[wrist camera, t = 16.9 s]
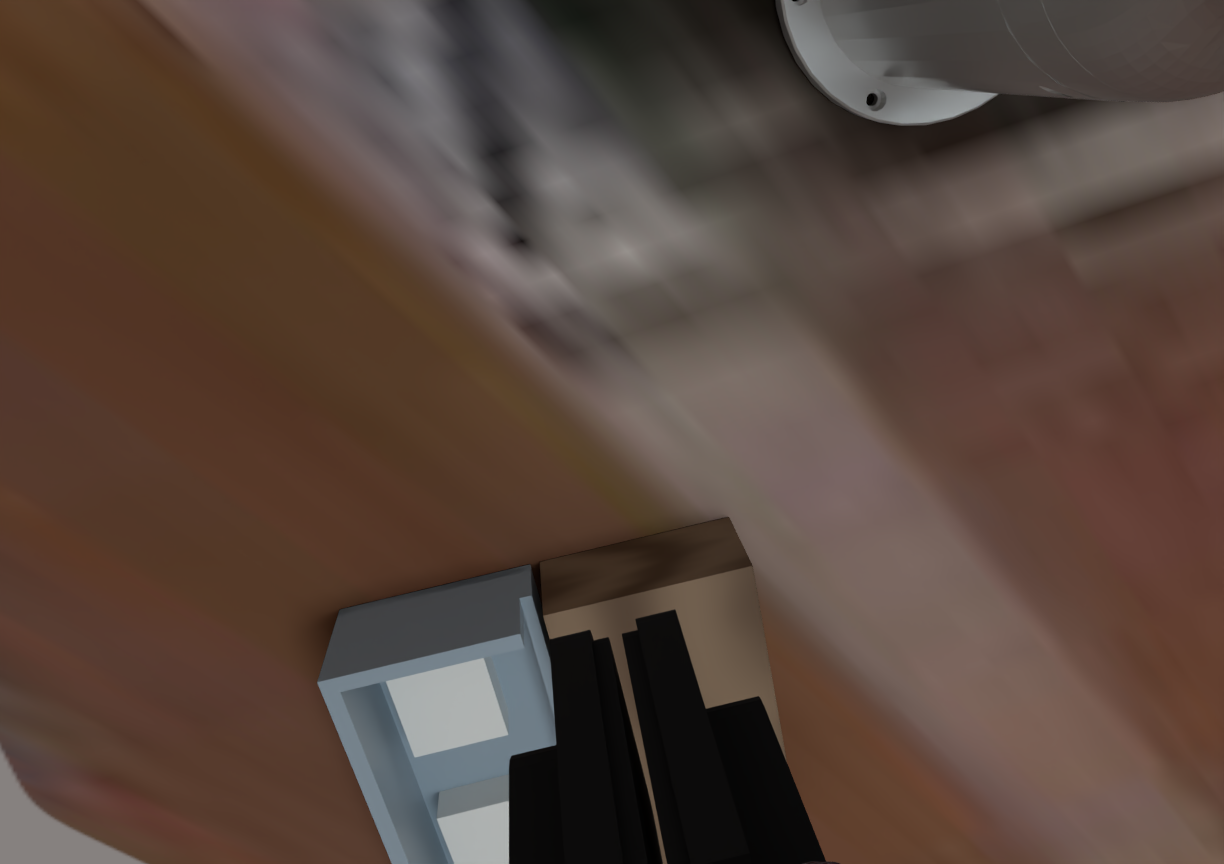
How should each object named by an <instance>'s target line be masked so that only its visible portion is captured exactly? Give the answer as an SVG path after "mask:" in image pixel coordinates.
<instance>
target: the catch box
mask: <svg viewBox="0 0 1224 864" xmlns="http://www.w3.org/2000/svg"><path fill="white" fill-rule="evenodd" d="M549 641H550V638H549V635H548V631H547V628H546V624H545V621H544V617H543V608H542V604H541V600H540V597H539V593H538V590H537V586H536V583H535V579H534V576H533V572H532V569H531V565H530V564H529V565H525V566H521V567H517V568H512V569H508V570H504V571H500V572H496V573H491V574H487V575H483V576H479V577H475V578H470V579H466V580H462V581H458V582H454V583H449V584H445V585H441V586H437V587H433V588H428V589H424V590H420V591H416V592H412V593H407V594H403V595H399V596H395V597H390V598H386V599H382V600H378V601H374V602H369V603H365V604H361V605H357V606H353V607H348V608H344V609H340V610H339V613H338V617H337V620H336V623H335V626H334V629H333V633H332V636H331V639H330V642H329V646H328V649H327V652H326V655H325V659H324V662H323V665H322V668H321V672H320V675H319V678H318V681H317V683H318V685H319V688H320V690H321V693H322V695H323V698H324V700H325V702H326V705H327V707H328V710H329V712H330V715H331V717H332V719H333V722H334V724H335V727H336V729H337V732H338V734H339V736H340V739H341V741H342V744H343V746H344V749H345V751H346V753H347V756H348V758H349V761H350V763H351V766H352V768H353V770H354V773H355V775H356V778H357V780H358V783H359V785H360V787H361V790H362V792H363V795H364V797H365V800H366V802H367V804H368V807H369V809H370V812H371V814H372V817H373V819H374V821H375V824H376V826H377V829H378V831H379V834H380V836H381V838H382V841H383V843H384V846H385V848H386V851H387V853H388V855H389V858H390V860H391V863H392V864H454V862H453V859H452V857H451V854H450V852H449V849H448V847H447V844H446V842H445V839H444V836H443V834H442V831H441V829H440V826H439V824H438V821H437V810H438V799H439V792H440V791H444V790H448V789H452V788H456V787H460V786H464V785H468V784H472V783H476V782H480V781H484V780H488V779H492V778H496V777H500V776H504V775H508V774H509V760H510V758H511V756H512V755H516V754H520V753H525V752H529V751H533V750H537V749H541V748H545V747H549V746H554V745H556V732H555V717H554V703H553V689H552V674H551V660H550V646H549ZM489 656H491V657H492V660H493V663H494V666H495V669H496V673H497V676H498V679H499V682H500V685H501V688H502V691H503V694H504V698H505V701H506V704H507V707H508V735H506V736H502V737H498V738H494V739H489V740H485V741H481V742H477V743H473V744H469V745H465V746H461V747H457V748H452V749H448V750H444V751H440V752H436V753H432V754H428V755H424V756H419V757H414V755H413V752H412V749H411V747H410V744H409V741H408V739H407V736H406V734H405V731H404V728H403V726H402V723H401V720H400V718H399V715H398V712H397V710H396V707H395V704H394V702H393V699H392V697H391V694H390V691H389V689H388V686H387V683H386V681H389V680H393V679H397V678H402V677H406V676H410V675H414V674H418V673H422V672H427V671H431V670H435V669H439V668H443V667H448V666H452V665H456V664H460V663H464V662H468V661H473V660H477V659H481V658H485V657H489Z"/></svg>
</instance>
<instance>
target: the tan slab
mask: <svg viewBox="0 0 1224 864" xmlns="http://www.w3.org/2000/svg"><path fill="white" fill-rule="evenodd" d="M540 574H541V590H542V607H543V617H544V621H545V624H546V628H547V631H548V635H549V638H550V639H553V638H557V637H561V636H566V635H570V634H574V633H578V632H582V631H586V630H591V633H592V636H593V639H594V640H597V639H602V638H606V637H609V639H610V643H611V647H612V650H613V654H614V658H615V662H616V666H617V670H618V674H619V678H620V682H621V686H622V690H623V694H624V698H625V702H626V706H627V710H628V714H629V717H630V721H631V725H632V729H633V733H634V737H635V741H636V745H637V749H638V753H639V757H640V761H641V765H642V769H643V773H644V777H645V781H646V784H647V788H648V792H649V797H650V801H651V805H652V810H653V814H654V819H655V824H656V829H657V834H658V840H659V845H660V850H661V855H662V860H663V864H667V861H666V856H665V851H664V846H663V841H662V836H661V831H660V826H659V821H658V816H657V811H656V806H655V801H654V796H653V791H652V786H651V780H650V775H649V770H648V765H647V760H646V755H645V750H644V745H643V740H642V735H641V730H640V725H639V720H638V715H637V710H636V704H635V699H634V694H633V689H632V684H631V679H630V674H629V669H628V664H627V659H626V654H625V649H624V644H623V639H622V633H627V632H631V631H635V630H638V629H637V625H636V621H635V619H637V618H641V617H645V616H649V615H653V614H657V613H662V612H666V611H670V610H674V609H675V610H676V613H677V616H678V619H679V623H680V626H681V629H682V632H683V636H684V639H685V642H686V646H687V649H688V652H689V655H690V659H691V662H692V665H693V669H694V672H695V675H696V678H697V682H698V685H699V688H700V691H701V695H702V698H703V701H704V705H705V708H706V709H707V708H711V707H715V706H719V705H723V704H728V703H732V702H736V701H740V700H744V699H748V698H752V697H757V696H759V697H760V698H761V700H762V702H763V704H764V707H765V709H766V711H767V714H768V717H769V719H770V722H771V724H772V727H773V729H774V732H775V734H776V737H777V739H778V742H779V744H780V747H781V749H782V752H783V754H784V757H785V759H786V755H785V749H784V743H783V737H782V732H781V726H780V720H779V714H778V709H777V703H776V697H775V692H774V686H773V680H772V674H771V669H770V663H769V657H768V651H767V646H766V640H765V634H764V629H763V623H762V617H761V611H760V606H759V600H758V594H757V588H756V583H755V577H754V571H753V566H752V564H751V562H750V560H749V557H748V555H747V553H746V551H745V549H744V547H743V545H742V543H741V541H740V539H739V537H738V535H737V533H736V531H735V529H734V526H733V524H732V522H731V520H730V518H729V517H727V518H722V519H718V520H714V521H710V522H706V523H701V524H697V525H693V526H689V527H685V528H680V529H676V530H672V531H668V532H664V533H659V534H655V535H651V536H647V537H643V538H638V539H634V540H630V541H626V542H622V543H617V544H613V545H609V546H605V547H601V548H596V549H592V550H588V551H584V552H580V553H575V554H571V555H567V556H563V557H559V558H554V559H550V560H546V561H542V562H540ZM786 762H787V760H786Z"/></svg>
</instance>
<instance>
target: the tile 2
mask: <svg viewBox="0 0 1224 864" xmlns="http://www.w3.org/2000/svg"><path fill="white" fill-rule="evenodd" d="M437 821H438V824H439V826H440V829H441V831H442V834H443V836H444V839H445V842H446V844H447V847H448V849H449V852H450V854H451V857H452V859H453V862H454V864H509V774H508V775H504V776H500V777H496V778H492V779H488V780H484V781H480V782H476V783H472V784H468V785H464V786H460V787H456V788H452V789H448V790H444V791H440V792H439V799H438V810H437Z"/></svg>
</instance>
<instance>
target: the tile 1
mask: <svg viewBox="0 0 1224 864" xmlns="http://www.w3.org/2000/svg"><path fill="white" fill-rule="evenodd" d="M386 683H387V686H388V689H389V691H390V694H391V697H392V699H393V702H394V704H395V707H396V710H397V712H398V715H399V718H400V720H401V723H402V726H403V728H404V731H405V734H406V736H407V739H408V741H409V744H410V747H411V749H412V752H413V755H414V757H419V756H424V755H428V754H432V753H436V752H440V751H444V750H448V749H452V748H457V747H461V746H465V745H469V744H473V743H477V742H481V741H485V740H489V739H494V738H498V737H502V736H506V735H508V707H507V704H506V701H505V698H504V694H503V691H502V688H501V685H500V682H499V679H498V676H497V673H496V669H495V666H494V663H493V660H492V657H491V656H489V657H485V658H481V659H477V660H473V661H468V662H464V663H460V664H456V665H452V666H448V667H443V668H439V669H435V670H431V671H427V672H422V673H418V674H414V675H410V676H406V677H402V678H397V679H393V680H389V681H386Z"/></svg>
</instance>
